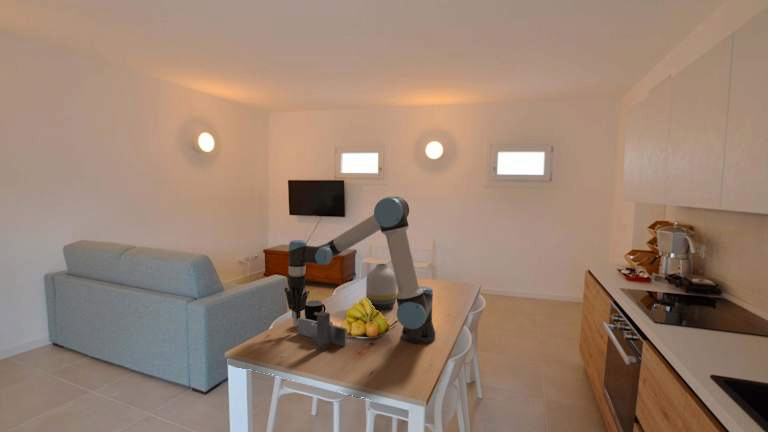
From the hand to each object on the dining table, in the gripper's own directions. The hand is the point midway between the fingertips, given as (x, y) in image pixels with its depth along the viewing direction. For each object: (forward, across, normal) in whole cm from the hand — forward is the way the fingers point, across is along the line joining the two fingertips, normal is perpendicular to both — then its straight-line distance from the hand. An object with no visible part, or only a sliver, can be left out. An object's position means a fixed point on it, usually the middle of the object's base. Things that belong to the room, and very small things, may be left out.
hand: (296, 324), depth 164 cm
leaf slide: (+3, -10, 0) cm, 10 cm away
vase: (+4, -17, -52) cm, 55 cm away
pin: (+3, -21, +7) cm, 22 cm away
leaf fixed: (+3, -19, 0) cm, 20 cm away
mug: (+4, 0, -15) cm, 15 cm away
